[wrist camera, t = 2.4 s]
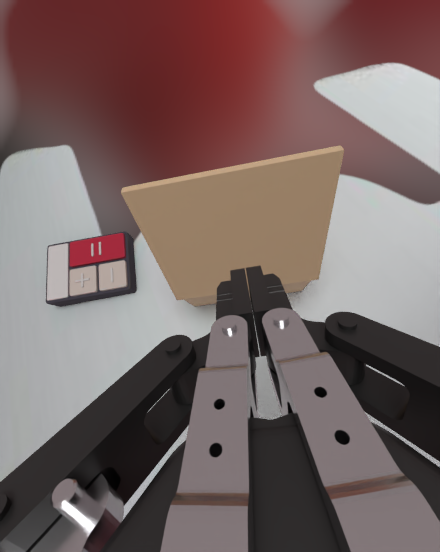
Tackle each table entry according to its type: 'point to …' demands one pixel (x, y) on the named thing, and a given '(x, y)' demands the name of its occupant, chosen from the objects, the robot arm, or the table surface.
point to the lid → (239, 220)
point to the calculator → (90, 269)
